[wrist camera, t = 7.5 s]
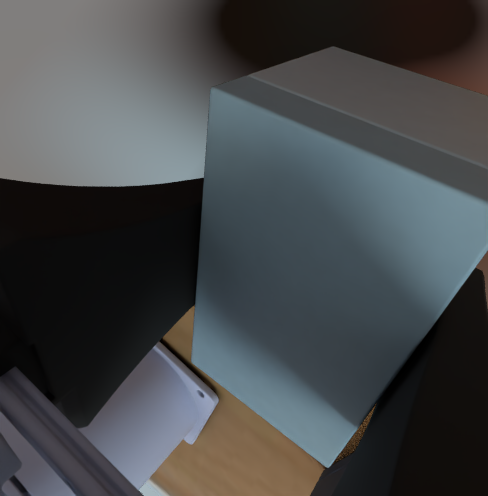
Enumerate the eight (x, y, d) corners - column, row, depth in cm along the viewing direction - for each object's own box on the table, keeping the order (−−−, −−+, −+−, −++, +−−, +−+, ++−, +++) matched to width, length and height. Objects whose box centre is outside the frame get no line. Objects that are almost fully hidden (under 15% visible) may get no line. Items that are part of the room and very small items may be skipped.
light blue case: (271, 281, 14) (190, 362, 12) (332, 45, 9) (208, 86, 6) (390, 354, 13) (327, 469, 10) (549, 114, 7) (514, 214, 5)
